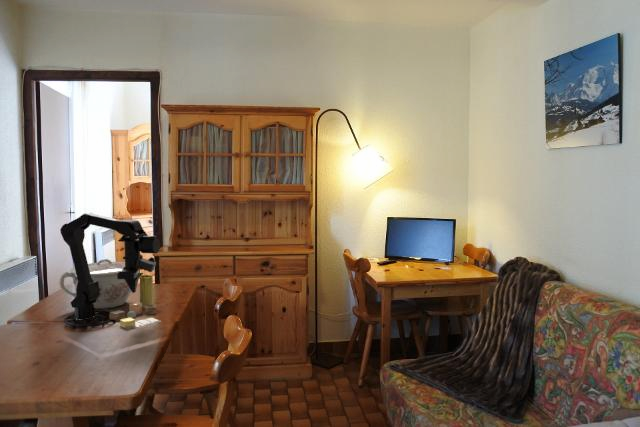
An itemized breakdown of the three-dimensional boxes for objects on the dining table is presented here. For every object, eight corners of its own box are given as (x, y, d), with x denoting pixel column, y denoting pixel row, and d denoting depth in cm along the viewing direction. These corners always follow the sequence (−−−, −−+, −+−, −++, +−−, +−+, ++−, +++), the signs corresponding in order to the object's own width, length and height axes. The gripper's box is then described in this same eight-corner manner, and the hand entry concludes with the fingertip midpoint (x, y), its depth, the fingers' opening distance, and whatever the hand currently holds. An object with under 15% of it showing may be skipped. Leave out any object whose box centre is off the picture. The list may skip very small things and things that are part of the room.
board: (127, 332, 184) (127, 329, 184) (118, 328, 189) (118, 325, 189) (161, 324, 195) (161, 320, 195) (151, 320, 199) (151, 317, 199)
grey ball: (129, 321, 197) (129, 312, 197) (125, 319, 200) (125, 311, 199) (138, 319, 200) (137, 311, 200) (133, 317, 202) (133, 309, 202)
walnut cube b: (145, 317, 203) (145, 308, 203) (143, 315, 207) (143, 305, 206) (155, 316, 205) (155, 307, 205) (153, 314, 209) (153, 304, 208)
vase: (149, 310, 213) (148, 277, 212) (136, 309, 214) (135, 277, 213) (156, 306, 219) (156, 274, 218) (144, 305, 220) (143, 274, 219)
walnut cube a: (116, 323, 195) (116, 313, 194) (109, 322, 196) (109, 312, 196) (124, 321, 198) (124, 311, 198) (117, 319, 200) (117, 310, 200)
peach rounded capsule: (133, 318, 202) (133, 306, 201) (127, 315, 205) (126, 304, 205) (144, 315, 206) (144, 303, 205) (138, 313, 209) (138, 301, 208)
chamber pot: (148, 298, 233) (147, 254, 231) (119, 315, 206) (118, 265, 204) (92, 296, 236) (90, 253, 234) (55, 312, 209) (54, 263, 207)
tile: (125, 328, 185) (125, 322, 185) (120, 326, 188) (119, 319, 187) (135, 326, 188) (135, 319, 188) (130, 323, 191) (129, 317, 190)
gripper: (146, 256, 184) (148, 298, 185) (159, 248, 202) (161, 286, 204) (115, 257, 183) (117, 298, 184) (131, 249, 202) (133, 287, 203)
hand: (133, 292), depth 194 cm, fingers closed
